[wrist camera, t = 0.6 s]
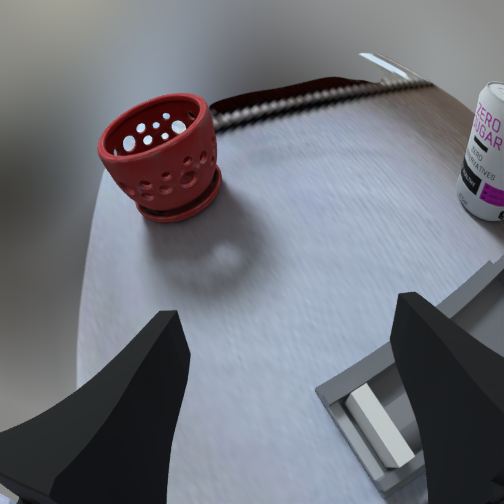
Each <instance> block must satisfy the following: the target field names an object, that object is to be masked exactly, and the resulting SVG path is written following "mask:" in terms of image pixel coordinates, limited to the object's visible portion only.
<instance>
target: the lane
mask: <svg viewBox="0 0 504 504" xmlns="http://www.w3.org/2000/svg"><path fill="white" fill-rule="evenodd" d="M436 308H437V309H438V310H439V311H441V312H442V313H443V314H444V315H446V316H447V317H448V318H449V319H451V320H452V321H453V322H454V323H456V324H457V325H458V326H459V327H461V328H462V329H463V330H465V331H466V332H467V333H469V334H470V335H471V336H473V337H474V338H476V339H477V340H478V341H480V342H481V343H482V344H484V345H485V346H487V347H488V348H490V349H491V350H493V351H494V352H496V353H498V354H499V355H501V356H503V357H504V255H503V256H502V257H501V258H500V259H499V260H498V261H497V262H496V263H495V264H493V263H492V262H491V261H490V260H489V261H488V262H487V263H486V264H485V265H484V266H483V267H482V268H481V269H480V270H478V271H477V272H476V273H475V274H474V275H473V276H472V277H471V278H469V279H468V280H467V281H466V282H465V283H464V284H463V285H461V286H460V287H459V288H458V289H457V290H455V291H454V292H453V293H452V294H451V295H449V296H448V297H447V298H446V299H445V300H443V301H442V302H441V303H440V304H438V305H437V306H436ZM365 383H367V385H368V386H369V388H370V389H371V391H372V392H373V394H374V395H375V396H376V398H377V399H378V401H379V402H380V404H381V405H382V407H383V408H384V407H386V406H387V405H389V404H390V403H392V402H393V401H394V400H396V399H397V398H399V397H400V396H401V395H403V394H404V393H405V392H406V391H405V388H404V385H403V383H402V380H401V377H400V375H399V372H398V369H397V367H396V363H395V359H394V356H393V352H392V347H391V343H390V341H389V342H387V343H386V344H385V345H383V346H382V347H380V348H379V349H377V350H376V351H374V352H373V353H371V354H370V355H368V356H367V357H365V358H364V359H362V360H361V361H359V362H357V363H356V364H354V365H353V366H351V367H350V368H348V369H346V370H345V371H343V372H342V373H340V374H338V375H337V376H335V377H333V378H332V379H330V380H328V381H327V382H325V383H323V384H322V385H320V386H318V387H316V388H315V392H316V393H317V395H318V396H319V398H320V400H321V401H322V403H323V404H324V406H325V408H326V409H327V411H328V412H329V414H330V416H331V417H332V419H333V420H334V422H335V424H336V425H337V427H338V428H339V430H340V432H341V433H342V435H343V436H344V438H345V440H346V441H347V443H348V444H349V446H350V447H351V449H352V451H353V452H354V454H355V455H356V457H357V458H358V460H359V462H360V463H361V465H362V466H363V468H364V469H365V471H366V473H367V474H368V476H369V477H370V479H371V480H372V482H373V483H374V485H375V487H376V488H377V490H378V491H379V493H380V494H381V496H382V497H383V498H385V499H386V498H387V497H389V496H390V495H392V494H393V493H395V492H396V491H398V490H399V489H401V488H402V487H404V486H405V485H407V484H408V483H409V482H411V481H412V480H413V479H415V478H416V477H418V476H419V475H420V474H422V473H423V472H424V471H425V470H426V468H425V461H424V455H423V449H422V444H421V438H420V434H419V429H418V425H417V422H416V419H415V420H414V421H412V422H411V423H410V424H408V425H407V426H406V427H404V428H403V429H402V430H400V431H399V432H400V434H401V435H402V437H403V438H404V440H405V441H406V443H407V444H408V446H409V448H410V449H411V451H412V452H413V454H414V455H415V457H414V458H412V459H411V460H410V461H408V462H407V463H405V464H404V465H403V466H401V467H400V468H397V467H385V466H384V465H383V463H382V461H381V460H380V458H379V457H378V455H377V454H376V452H375V451H374V449H373V448H372V446H371V444H370V443H369V441H368V440H367V438H366V437H365V435H364V434H363V432H362V431H361V429H360V427H359V426H358V424H357V423H356V421H355V420H354V418H353V417H352V415H351V413H350V412H349V410H348V409H347V407H346V406H345V402H346V401H347V399H348V397H349V395H350V394H351V392H353V391H355V390H356V389H358V388H359V387H361V386H362V385H364V384H365Z"/></svg>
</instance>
